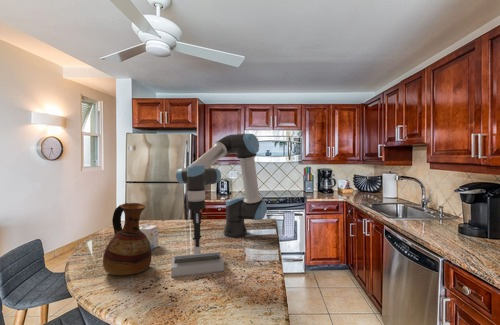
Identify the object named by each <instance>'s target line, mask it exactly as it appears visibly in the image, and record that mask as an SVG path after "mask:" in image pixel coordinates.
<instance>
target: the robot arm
mask: <svg viewBox="0 0 500 325" xmlns="http://www.w3.org/2000/svg"><path fill="white" fill-rule="evenodd" d="M259 150H260V142H259V139H258V138H257V136H256V135H255V134H253V133H235V134H228V135H226V136H223V137H222V138H220V139H218V140H217V141H216V142H214V143H213V144H212V147H211V148H210V149H208V150H207V151H206V152H204V154H202V155H201V156H200V157H198V158H197V159H196V160H195V161H193V162H192V163H191V164H189V165H188V166H187V167H182V168H178V169H177V170H176V172H175V179H176V181H177V183H179V184H185V185H187V192H186V196H187V200H188V201H187V209H188V210H190V211H193V212H192V213H191V216H192V224H193V237H192V240H193V248H194V249H193V250H194V251H193V252H194V253H193V254H201V251H202V250H201V238H202V236H203V235H201V224H202V212H201V211H202V210H205V209H206V200H205V199H206V186H209V185H215V184H218V183H219V182H220V181H221V179H222V173H221V171H220V170H219V169H218V168H216V167H212V166H213V165H214V164H215V163H217V161H218V160H220V159H221V158H224V157H226V156H227V155H236V158H237V159H238V160H239V162H240V170H241V175H242V176H241V177H242V182H243V183H242V184H243V191H244V197H235V198H233V197H232V198H228V199H227V200H226V201H225V219H226V220H225V222H226V223H225V226H224V228H223V235H224V236H225V237H229V238H240V237H244V236H247V235H248V229H247V226H246V223H245V220H252V221H262V220H264V218H265V216H266V213H267V208H268V207H267V203H266V201H263V197H262V196H261V195H260V191H259V186H258V176H257V170H256V162H255V158H256V157H257V153H258V152H259ZM200 210H201V211H200Z"/></svg>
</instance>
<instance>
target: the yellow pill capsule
mask: <svg viewBox="0 0 500 325" xmlns="http://www.w3.org/2000/svg"><path fill="white" fill-rule="evenodd" d="M205 260H213V259H205ZM205 260H195V261H205ZM195 261H185V262H195ZM185 262H182V263H185Z"/></svg>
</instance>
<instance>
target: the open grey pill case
mask: <svg viewBox="0 0 500 325" xmlns="http://www.w3.org/2000/svg"><path fill="white" fill-rule="evenodd" d="M217 252H218V251H213V252H210V253H217ZM207 253H208V252H202V253H201V254H207ZM186 255H187V254H181V255H179V254H178V256H186ZM189 255H196V254H194V253H192V254H189ZM175 256H176V255H173V256H172V260H171V266H170V268H171V269H170V270H171V272H170V273H171V274H170V276H171V277H170V278H178V277H180V278H181V277H185V276H196V275H207V274H213V273H214V274H215V273H222V272H225V262H224V259H223V256H222V253H221V254H218V255H208V256H197V257H187V258H177V259H174V257H175ZM205 259H213V260H205ZM195 260H205V261H195ZM185 261H195V262H185ZM182 262H185V263H182Z"/></svg>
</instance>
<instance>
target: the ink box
mask: <svg viewBox="0 0 500 325" xmlns="http://www.w3.org/2000/svg"><path fill="white" fill-rule="evenodd" d="M139 229H140V231H141V232H143V233H144V234H145V235H146V236H147V238H148V240H149V242H150V245H151V251H153V249H155V248H157V247H159V226H158V225H152V224H151V223H150V222H146V223H144V224H143V223H142V224H140V226H139Z"/></svg>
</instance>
